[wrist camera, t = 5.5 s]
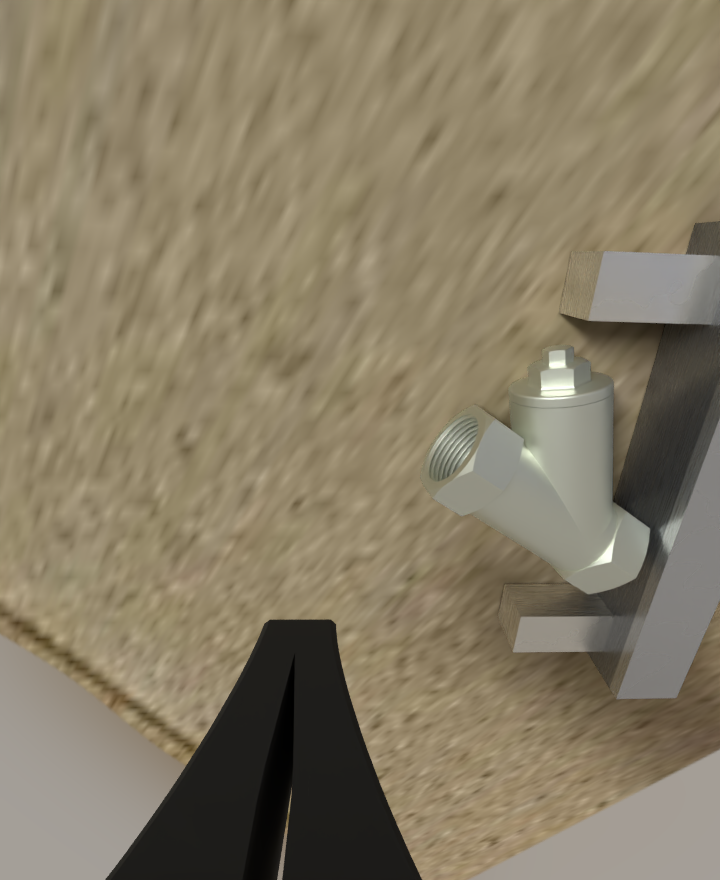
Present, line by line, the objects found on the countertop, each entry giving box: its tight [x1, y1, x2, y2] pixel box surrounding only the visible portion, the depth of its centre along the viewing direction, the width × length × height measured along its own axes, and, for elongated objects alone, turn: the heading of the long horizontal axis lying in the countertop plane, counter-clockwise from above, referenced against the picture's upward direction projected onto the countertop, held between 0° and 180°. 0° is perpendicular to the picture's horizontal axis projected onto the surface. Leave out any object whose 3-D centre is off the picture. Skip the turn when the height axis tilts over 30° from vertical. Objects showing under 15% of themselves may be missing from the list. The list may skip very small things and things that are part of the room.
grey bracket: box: [498, 221, 720, 699], centre depth 17 cm, size 7×18×4 cm, turn 178°
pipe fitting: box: [420, 345, 650, 594], centre depth 16 cm, size 8×4×7 cm
